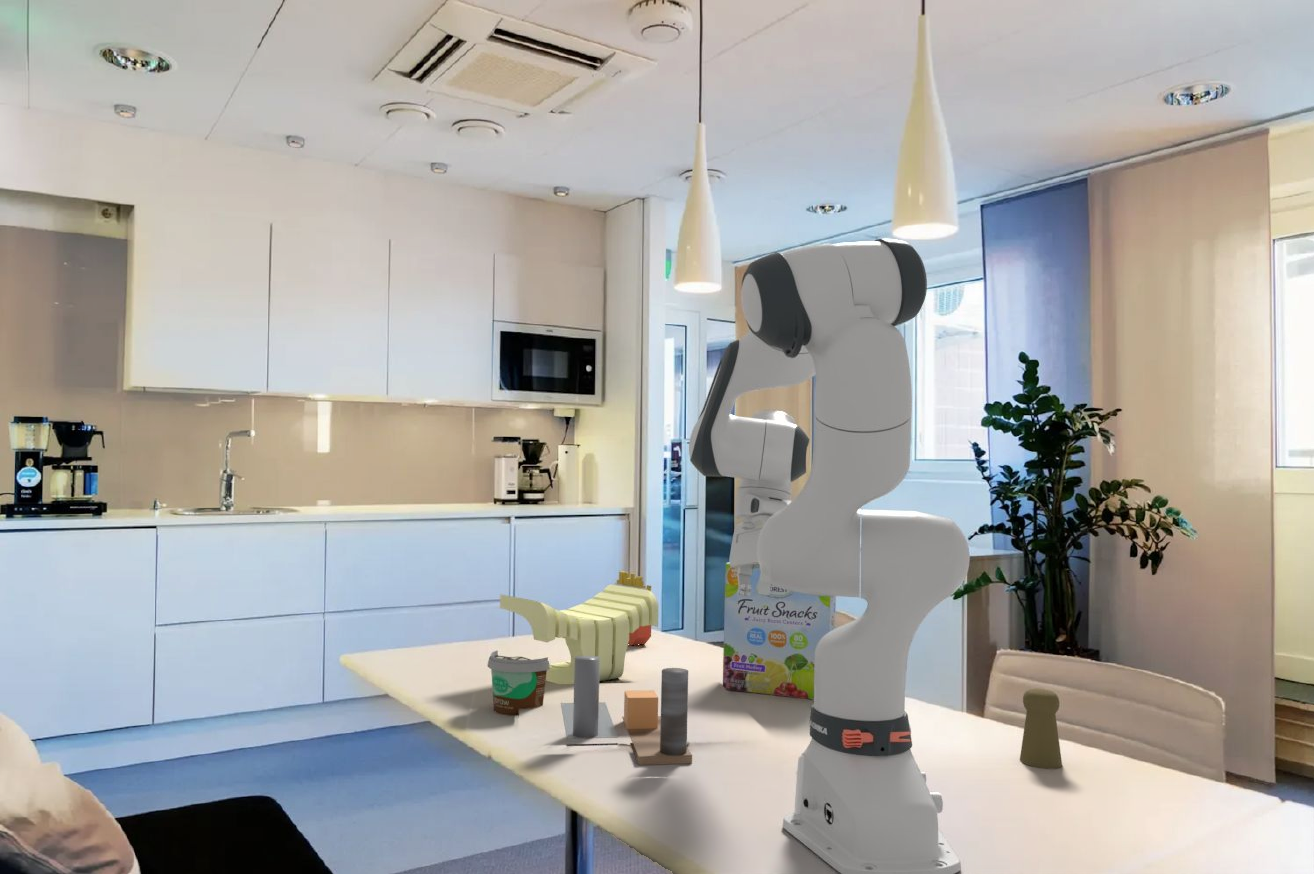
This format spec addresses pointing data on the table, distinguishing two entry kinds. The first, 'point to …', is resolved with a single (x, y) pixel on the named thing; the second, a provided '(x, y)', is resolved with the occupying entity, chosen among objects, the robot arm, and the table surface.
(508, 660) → the food container
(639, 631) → the french fries container
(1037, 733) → the olive green pawn
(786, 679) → the snack box
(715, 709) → the table surface
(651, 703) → the terracotta block
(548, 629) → the slatted curved stool
